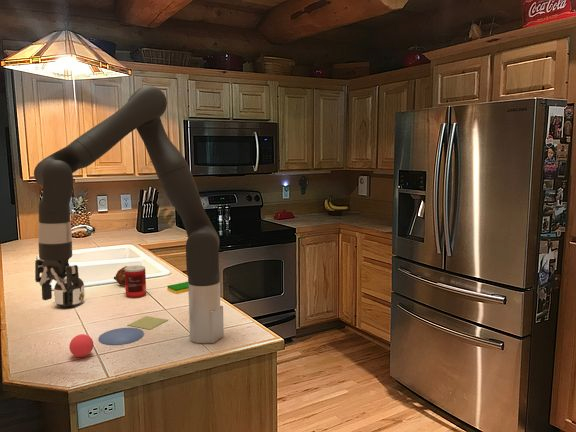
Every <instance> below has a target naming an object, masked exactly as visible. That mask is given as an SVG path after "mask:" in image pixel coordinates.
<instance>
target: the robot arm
mask: <svg viewBox="0 0 576 432" xmlns="http://www.w3.org/2000/svg"><path fill="white" fill-rule="evenodd" d="M167 106H168V99H167V97H166V95H165V93H164V92H163V91H162V89H160V88H159V87H156V86H153V85H144V86H141V87H139V88H137V90H136V91H134V92H133V94H131V95H130V97H129V98H128V100H127V102H126V103H125V104H124V105H123V106H121V108H119V109H118V110H117V111H115V112H114V113H112V114H111V115H110V116H108V117H106V119H104V120H102V121H101V122H99V123H97V125H94V126H93V127H92V128H90V129H88V130H87V131H85V132H84V133H82V134H81V135H80V136H77V138H76V139H74V140H73V141H72V142H70V143H69V144H68V145H66V146H65V147H63V148H60V149H59V150H57V151H55V152H54V153H52V154H50V155H48V156H46V157H45V158H43V159H42V160H40V161H39V162H38V163H37V164H36V165H35V168H34V170H33V177H34V179H35V181H36V183H38V184H39V185H40V186H42V198H41V200H40V201H39V202H38V228H37V229H38V230H37V239H38V241H37V242H38V258H39V259H36V260H35V262H34V263H35V264H34V265H35V266H34V268H35V269H34V275H35V276H34V277H35V279H34V280H35V282H36V283H38V284H39V285H40V287H41V299H42V300H43V301H48V300H51V299H52V298H53V294H52V293H53V291H52V290H53V287H52V283H53V280H54V281H55V282H56V283H58V284H59V285H61V287H62V290H63V305H64V306H70V305H72V304H73V290H75V289H78V288H79V278H80V276H79V277H78V273H79V266H78V265H76V264H74V265H70V262H69V260H70V259H71V258H72V257H73V236H72V235H73V234H72V233H73V232H72V231H73V229H72V225H71V208H70V207H71V206H70V203H71V199H72V194H73V188H74V173H75V172H77V171H78V170H81V169H84V168H87V167H89V166H91V165H92V164H94V163H95V162H96V161H97V160H99V159H100V158H101V157H103V156H104V155H106V153H108V152H109V151H111V150H112V148H114V147H115V146H116V145H117V144H118V143H119V142H120V141H122V140H123V139H124V138H125V137H126V136H128V135H129V134H130V133H131V132H133V131H134V130H136V131H137V132H138V135H139V137H140V139H141V140H142V142H143V144H144V146H145V149H146V152H147V155H148V157H149V159H150V161H151V164H152V166H153V169H154V171H155V174H156V176H157V179H158V181H159V183H160V185H161V189H162V190H163V192H164V194H165V195H166V197H167V199H168V201H169V202H170V203H171V205H172V207H174V209H175V210H176V211H177V214H178V215H179V217H180V219H181V221H182V224H183V227H184V228H185V232H186V235H187V239H186V242H185V262H186V263H185V264H186V275H187V282H188V316H189V318H188V319H189V320H188V323H189V325H188V326H189V340H190V341H191V342H193V343H197V344H214V343H216V342H217V341H219V340H220V339H221V338H223V337H224V335H225V334H224V332H225V331H224V330H225V329H224V306H223V305H221V280H220V279H221V275H220V273H221V272H220V259H219V258H220V257H219V256H220V255H219V253H220V252H219V250H220V249H219V248H220V244H221V243H220V236H219V234H218V232H217V231H216V229H215V227H214V225H213V224H212V222H211V220H210V218H209V216H208V214H207V213H206V210H205V207H204V205H203V203H202V199H201V196H200V193H199V190H198V186H197V184H196V181H195V179H194V176H193V173H192V170H191V168H190V166H189V163H188V162H187V160H186V159H185V157H184V155H183V154H182V153H181V151H180V150H179V149H178V148H177V147H176V146H175V144H174V143H173V142H172V141H171V139H170V138H169V137H168V135H167V134H168V133H167V132H166V130H165V128H164V125H163V122H162V119H161V117H162V116H163V115H164V114H165V111H166V109H167ZM65 277H67V279H64V278H65ZM72 280H74V285H73V283H72ZM65 283H67V287H66V285H65Z"/></svg>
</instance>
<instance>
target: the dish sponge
mask: <svg viewBox="0 0 576 432" xmlns="http://www.w3.org/2000/svg"><path fill="white" fill-rule="evenodd" d="M166 289H167V291H168V292H170V293H172V294H175V295H178V294H182V293H187V292H188V293H189V291H188V281H185V282H179V283H175V284H170V285H167V287H166Z"/></svg>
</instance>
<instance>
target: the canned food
mask: <svg viewBox="0 0 576 432" xmlns="http://www.w3.org/2000/svg"><path fill="white" fill-rule="evenodd" d="M146 274H147V273H146V266H144V265H138V264H137V265H128V267H126V268H125V286H124V287H125V295H126V297H127V298H129V299H139V298H143V297H145V296H146V295H147V281H146V279H147V276H146Z"/></svg>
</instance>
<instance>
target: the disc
mask: <svg viewBox="0 0 576 432" xmlns="http://www.w3.org/2000/svg"><path fill="white" fill-rule="evenodd" d="M144 335H145V332H144V330H142V328H137V327H120V328H119V327H118V328H114V329H111V330H107V331H105V332H103V333H101V334H100V335H99V336H98V338H97V339H98V342H99V343H101V344H103V345H107V346H121V345H126V344H131V343H134V342H137V341H139V340H140V339H142V338H143V337H144Z"/></svg>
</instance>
